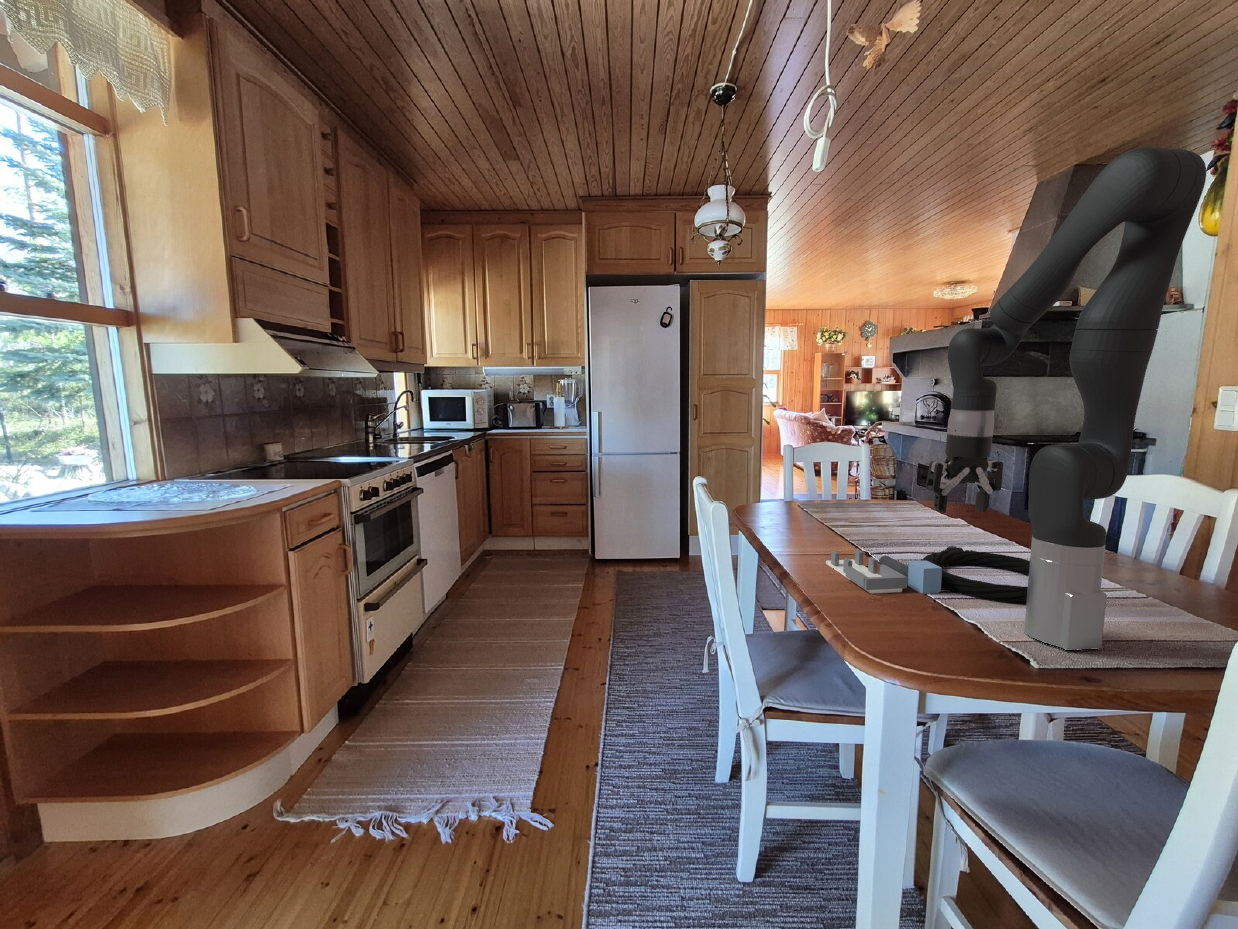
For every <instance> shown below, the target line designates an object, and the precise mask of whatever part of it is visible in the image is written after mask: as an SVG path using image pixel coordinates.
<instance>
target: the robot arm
mask: <svg viewBox="0 0 1238 929" xmlns="http://www.w3.org/2000/svg"><path fill="white" fill-rule="evenodd" d="M1206 177H1207V166H1206V163H1205V160H1204V159H1203V157H1202V156H1201V155H1199V154H1198V153H1197V152H1194V151H1191V150H1187V149H1180V148H1168V147H1167V148H1166V147H1165V148H1164V147H1158V146H1145V147H1143V146H1141V147H1137V148H1133V149H1129V150H1127V151H1126V152H1123V153H1121V154H1120V155H1118V156H1117V157H1115V158H1114V159H1112V160H1111V161H1110V162H1109V163H1107V165H1106V166H1104V167H1103V169H1102V170H1101V171H1100V172H1099V174H1097V176H1096V177H1095V178H1094V180H1093V181H1092V183H1091V184H1089V186H1088V187H1087V189H1086V190H1085V192H1084V193H1083V194H1082V196H1081V197H1080V199H1079V200H1078V201H1077V202H1076V205H1075V206H1074V207H1073V208H1072V210H1071V212H1069V214H1068V215H1067V216H1066V218H1065V219H1064V220H1063V222H1062V224H1061V225H1060V227H1059V228H1058V229H1057V231H1056V232H1055V234H1054V235H1053V236H1052V238H1051V239H1050V240H1049V242H1048V243H1047V244H1046V245H1045V247H1044V249H1043V250H1042V251H1041V252H1040V254H1039V255H1038V256H1037V258H1036V259H1035V260H1034V261H1033V262H1032V263H1031V264H1030V266H1028V268H1027V269H1026V270H1025V271H1024V273H1023V274H1022V275H1021V276H1020V277H1019V278H1018V279H1017V280H1016V281H1015V282H1014V283H1012V285H1011V286H1010V287H1009V288H1008V289H1007V290H1006V292H1004V293H1003V294H1002V295H1001V297H1000V298H999V299H998V300H997V301H996V302H995V303H994V305H993V306H992V307H991V308H990V311H989V318H990V320H991V322H992V323H993V324H992V325H991V326H990V327H987V328H983V327H982V328H976V327H974V328H971V327H970V328H963V329H961V330H959V331H958V332H956V333H955V334H954V335H953V336H952V338H951V339H950V342H949V344H948V347H947V361H948V362H947V363H948V368H949V373H950V379H951V383H952V387H953V390H952V391H953V392H952V398H951V409H950V414H949V417H948V422H947V431H946V432H947V433H946V439H945V450H944V453H945V456H946V458H945V461H944V462H937V461H934V460H931V461H930V462H929V465H928V472H927V477H926V483H925V489H926V490H928V491H931V492H933V493H934V500H933V508H934V510H935V512H937V513H939V514H946V512H947V505H948V494H949V493H950V491H951V490H952V489H953V488H955V487H957V486H958V484H962V485H963V484H967V483H968V484H974V486H975V487H976V489H977V490H978V491H977V492H976V497H975V505H974V510H976V511H978V512H981V513H985V512H987V510H988V508H989V504H990V498H991V494H992V493H993V492H995V491H998V492H999V491H1001V490H1002V486H1003V485H1002V484H1003V473H1004V472H1003V471H1004V462H1002V461H1001V460H995V459H989V460H988V458H990V457H991V452H992V445H993V444H992V443H993V438H994V437H993V436H994V429H995V428H994V427H995V408H996V407H995V406H996V399H997V388H998V386H997V383H996V382H995V381H994V380H992V379H989V378H987V377H984V374H983V369H982V366H983V367H984V366H985V367H986V366H996V365H997V364H999V363H1001V362H1004V361H1005V360H1006V359H1008V358H1009V357H1010V356H1011V355H1012V354H1013V353H1014V352H1015V351H1016V349H1017V348H1018V346H1019V345H1020V343H1021V342H1022V341H1023V338H1024V337H1025V336H1026V334H1027V332H1028V331H1029V329H1030V328H1031V327H1032V325H1034V324H1035V323H1036V322H1037V321H1038V320H1040V318H1042V317H1043V315H1045V314H1046V313H1047V312H1048V311H1049V310H1050V309H1051V308H1052V307H1053V306H1054V305H1055V304H1056V303H1057V302H1058V301H1059V300H1060V299H1061V298H1062V297H1063V296H1064V294H1065V293H1066V291H1067V290H1068V288H1069V286H1070V285H1071V282H1073V279H1074V277H1075V275H1076V272H1077V270H1078V269H1079V267H1080V265H1081V263H1082V261H1083V260H1084V258H1085V257H1086V256H1087V255H1088V253H1089V252H1090V251H1091V250H1092V249H1093V247H1095V246H1096V244H1097V243H1099V241H1101V240H1102V239H1103V238H1104V237H1106V236H1107V235H1108V234H1109V233H1111V232H1112V231H1113V230H1114V229H1116V228H1117V227H1118V226H1119V225H1121V224H1122V223H1124V227H1123V234H1122V236H1121V237H1122V238H1121V242H1120V246H1119V250H1118V254H1117V257H1116V259H1115V262H1114V264H1113V265H1112V268H1111V270H1110V271H1109V272H1108V274H1107V275H1106V277H1105V278H1104V280H1103V281H1102V282H1101V283H1100V285H1099V286H1098V288H1097V289H1096V290H1095V291H1094V293H1093V294H1092V295H1091V297H1090V298H1089V300H1088V301H1087V302H1086V304H1085V306H1084V307H1083V309H1082V311H1081V312H1080V314H1079V316H1078V319H1077V322H1076V325H1075V329H1074V333H1073V338H1072V343H1071V348H1070V351H1069V360H1068V361H1069V368H1070V372H1071V375H1072V377H1073V380H1074V383H1075V385H1076V387H1077V390H1078V393H1079V395H1080V397H1081V400H1082V403H1083V422H1082V428H1081V432H1080V436H1079V439H1078V441H1077V443H1059V444H1051V445H1046V446H1044V447H1041V449H1039V450H1038V451H1037V452H1036V453H1035V455H1034V457H1033V459H1032V460H1031V464H1030V467H1029V473H1028V476H1029V477H1028V511H1027V512H1028V518H1029V521H1030V524H1031V528H1032V533H1031V543H1030V544H1031V545H1030V555H1029V561H1030V566H1029V576H1028V578H1027V580H1028V581H1027V586H1028V590H1027V602H1026V604H1025V617H1024V618H1025V619H1024V627H1023V631H1024V630H1025V631H1024V633H1025V634H1026V633H1027V634H1028V635H1029V636H1030V637H1029V636H1028V635H1027V634H1026V635H1027V636H1028V637H1029V638H1031V637H1033V638H1035V639H1037V640H1040V641H1042V642H1045V643H1050V644H1053V645H1056V646H1059V647H1062V648H1064V649H1065V650H1077V649H1091V648H1101V649H1102V645H1103V637H1104V636H1103V635H1104V626H1105V615H1106V609H1107V608H1106V607H1107V599H1108V596H1107V592H1104V591H1102V590H1101V588H1102V582H1103V570H1104V561H1105V552H1106V541H1107V529H1106V528H1105V526H1103V525H1102V524H1099V523H1097V522H1095V521H1091V520H1088V519H1087V518H1086V516H1085V514H1084V501H1087V500H1089V501H1090V500H1100V499H1101V500H1102V499H1107V498H1109V497H1112V496H1114V495H1115V494H1116V493H1118V492H1119V491H1120V490H1121V489H1122V487H1123V485H1124V484H1125V482H1126V479H1127V477H1128V474H1129V468H1130V464H1131V463H1130V462H1131V455H1132V446H1133V439H1134V438H1133V436H1134V430H1135V423H1136V418H1137V417H1136V416H1137V412H1138V407H1139V404H1140V399H1141V395H1142V391H1143V386H1144V382H1145V377H1146V372H1147V369H1148V366H1149V362H1150V360H1151V356H1152V354H1153V350H1154V347H1155V343H1156V340H1157V335H1158V332H1159V327H1160V322H1161V318H1162V313H1163V308H1164V305H1165V302H1166V297H1167V294H1168V291H1169V288H1170V283H1171V280H1172V277H1173V274H1174V270H1175V266H1176V262H1177V259H1178V257H1179V256H1178V255H1179V253H1180V249H1181V247H1182V245H1183V242H1184V239H1185V237H1186V234H1187V232H1188V230H1189V228H1190V224H1191V222H1192V219H1193V217H1194V216H1195V212H1196V209H1197V207H1198V205H1199V202H1200V200H1201V197H1202V194H1203V192H1204V188H1205V185H1206V180H1207V178H1206ZM986 471H987V474H985V472H986ZM943 473H944V474H943ZM1033 638H1032V639H1033ZM1035 639H1034V640H1035ZM1037 640H1036V641H1037ZM1042 642H1041V643H1042ZM1065 650H1064V651H1065Z"/></svg>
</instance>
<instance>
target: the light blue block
mask: <svg viewBox="0 0 1238 929" xmlns="http://www.w3.org/2000/svg"><path fill="white" fill-rule="evenodd" d="M878 565H879V566H880V565H886V566H888V567H889V568H891V569H893V570H895V571H897V572H899V573H900V574H902V575H904V576H906V577H907V587H909V588H912V589H913V590H915V591H916V592H918V593H920V594H921V595H927V594H928V595H929V594H932V593H933V594H939V593H938V592H941V591H942V590H941V589H942V587H941V577H942V570H943V567H939V566H937V565H935V564H933V563H931V562H928V561H920V560H911V561H910V560H908V565H906V564H904V563H902V562H900V561H899V560H897V559H894V558H892V557H891V556H888V555H882V556H880V558H879V560H878Z"/></svg>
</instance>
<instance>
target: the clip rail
mask: <svg viewBox="0 0 1238 929" xmlns="http://www.w3.org/2000/svg"><path fill="white" fill-rule="evenodd" d="M878 562H879V560H878V559H877V558H875V557H873V556H872V557H868V565H867V566H865V565H864V551H862V550H860V549H854V559H853V558H852V559H849V558H848V557H847V558H843V559H840V552H838V551H837V550H831V552H830V560H826V561H825V564H826V565H827V566H829V568H832V569H833V568H834V570H835V571H837V573H840V574H841V575H842V576H844V577H845V578H847V579H848V580H849V581H851V582H853V583H854V584H856V585H857V586H859V587H860V588H862V589H863V590H864V591H866V592H868V593H869V594H871V595H872V594H888V593H902V592H903V589H908V588H907V587H908V581H907V577H906V576H904V575H902V574H900V573H899V572H897V571H895V570H893V569H891V568H889V567H888V566H886V565H879V573H878Z"/></svg>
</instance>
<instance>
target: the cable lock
mask: <svg viewBox="0 0 1238 929" xmlns="http://www.w3.org/2000/svg"><path fill="white" fill-rule="evenodd" d="M919 561H928V562H931V563H933V564H935V565H937V566H939V567H941V568H943V567H947V566H973V565H974V567H985V566H986V567H987V568H991V567H992V569H997V568H999V570H1005V569H1006V570H1005V571H1009V570H1011V571H1010V572H1012V571H1013V572H1012V573H1016V572H1018V573H1017V574H1020V573H1021V574H1020V575H1024V576H1028V575H1029V566H1030V560H1028V559H1024V558H1022V557H1017V556H1010V555H1006V554H1001V553H999V554H998V553H993V552H985V551H976V550H973V549H972V550H969V549H965V550H964V549H963V548H962V547H957V546H956V545H950V546H947V547H946V548H945V549H943V550H941V551H939V552H932V553H931V554H927V555H925V556H924V557H923V558H922V559H920V560H919ZM943 587H944V589H948V590H950V591H952V592H954V591H955V592H954V593H957V592H958V593H957V594H960V593H961V595H965V596H970V597H975V598H978V597H979V599H982V600H987V599H988V600H987V601H992V600H994V602H1003V601H1004V602H1005V603H1010V602H1016V603H1015V604H1019V603H1023V605H1026V602H1027V590H1028V585H1027V586H1022V585H1010V584H999V583H998V584H997V583H992V582H987V581H983V580H975V579H970V578H968V577H964V576H959V575H956V574H953V573H950V572H947V571H945V570H943V569H942V577H941V588H943Z"/></svg>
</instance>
